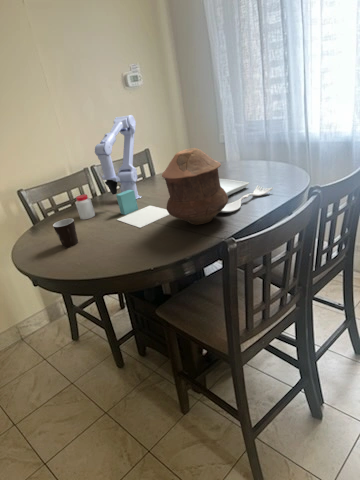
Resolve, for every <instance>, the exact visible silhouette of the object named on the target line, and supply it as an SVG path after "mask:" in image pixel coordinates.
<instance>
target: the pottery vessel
mask: <svg viewBox="0 0 360 480" xmlns="http://www.w3.org/2000/svg"><path fill="white" fill-rule="evenodd" d="M221 165H222V163H221V162H219V161H217V160H215V159H213V158H212V157H211V156H210V155H208V154H207V153H205V152H204V151H202V149H199V148H198V147H190V148H186V149H182V150H180V151H178V152H176V153H175V154H174V155H173V157H172V159H171V161H170V162H169V163H168V165H167V167H165V169H164V171H163V172H162V174H161V177H162V178H163V179H164V180H165V184H166V187H167V191H168V195H169V198H168V200H167V202H166V209H167V211H168V213H169V214H170V215H169V216H172V217H173V218H176V219H179V220H182V221H185V222H187V223H188V222H189V223H190V224H192V225H203V224H207V223H209V222H211V221H213V218H214V217H215V216H217V215H218V214H219V213H221V212H220V211H221V210H222V209H223V208H224V207H225V206H226V204H228V202H229V196H227V194H226V192H225V191H224V189H223V188H222V187H221V186H220V181H219V179H220V176H219V168H220V167H221Z"/></svg>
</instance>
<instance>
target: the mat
mask: <svg viewBox="0 0 360 480" xmlns="http://www.w3.org/2000/svg"><path fill="white" fill-rule="evenodd" d="M168 216H171V215H170V214H169V213H168V211H167V208H163V207H158V206H154V205H147V206H145V207H143V208H140V209H138V210H136V211H134V212H131V213H129V214H127V215H124V216H122V217H119V218H117V219H116V221H119V222H122V223H124V224H127V225H130V226H133V227H136V228H139V229H142V228H143V227H146V226H148V225H151V224H152V223H155V222H157V221H159V220H162V219H163V218H166V217H168Z"/></svg>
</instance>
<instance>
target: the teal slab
mask: <svg viewBox="0 0 360 480" xmlns="http://www.w3.org/2000/svg"><path fill="white" fill-rule="evenodd" d="M115 197H116V201H117V203H118V208H119V212H120V214H121V215H124V216H126V215H129V214H131V213H133V212H136V211H138V210H139V207H138V202H137V199H136V197H135V193H134V190H127V191H125V192H122V193H121V192H120V193H117V194H115Z"/></svg>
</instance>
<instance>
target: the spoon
mask: <svg viewBox="0 0 360 480" xmlns="http://www.w3.org/2000/svg"><path fill="white" fill-rule="evenodd" d="M273 189H274V187H267V188H265V187H262V186H260V185H259V184H258V185H256V187H255V189H254V190H253V191H252V193H251V192H250V193H247V194H245V195H242V196H241V197H240V198H239V199H237V200H235V201H233V202H229V203H227V204H226V206H225V207H224V208H223V209H222V210H221V211H220V212H219V213H232V212H233V213H234V212H236V211H237V210H239V209H240V208H241V206H242V200H244V199H247V198H249V197H260V196H264V195H266V194H267V193H269V192H272V191H273Z"/></svg>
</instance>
